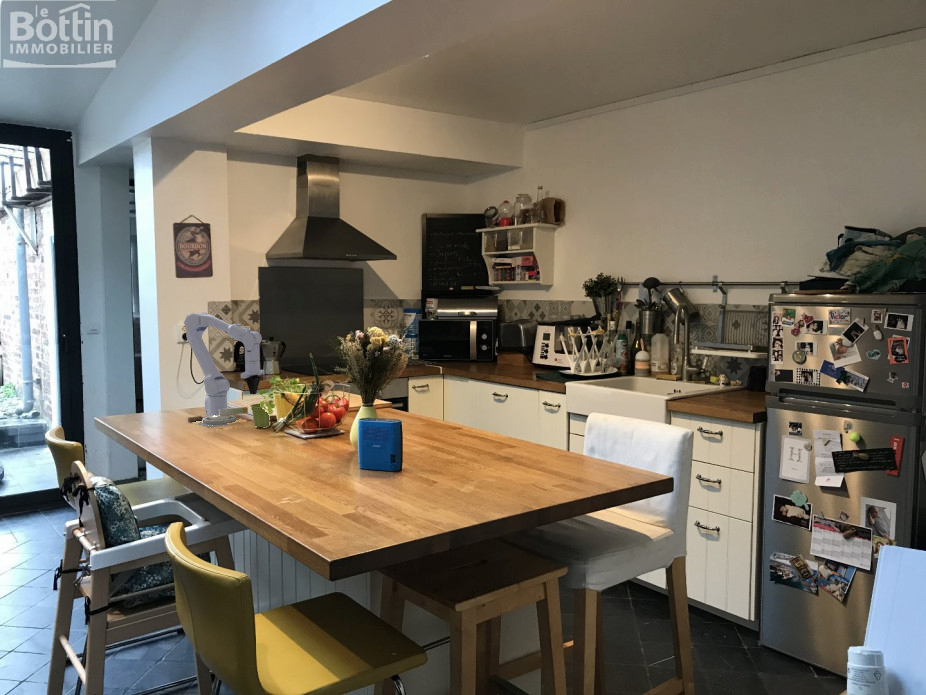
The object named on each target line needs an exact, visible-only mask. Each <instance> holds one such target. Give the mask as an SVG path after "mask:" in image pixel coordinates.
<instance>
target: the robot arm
mask: <svg viewBox="0 0 926 695" xmlns="http://www.w3.org/2000/svg"><path fill="white" fill-rule="evenodd" d="M183 324H184V326H185V334H186V341H187V342H188V343H189V346H190V348H191V350H192V353H193V354H194V357H195V359H196V361H197V362H198V365H199V366H200V369H201V370H202V373H203V375H204V378H203V383H204V390H205V392H206V394H207V396H206V397H205V399H204V413H205V415H206V414H207V415H206V416H209V415H213V414H219V409H226V408H228V392H229V390H230V387H231V385H230V382H229V380H228V379H227V378H226V377H225V375H224V374H223V373H222V372H221V371H219V370H218V368H217V366H216V364H215V362H214V360H213V358H212V356H211V354H210V352H209V350H208V347H207V346H206V343H205V342H204V340H203V338H202V337H203V334H204V332H206V330H207V328H209V327H213V328H215V329H218V330H221V331H223V332H226V333H227V335H228V337H230V338H232V339H235V341H236V340H237V341H238V342H240V343H242V344H243V346H244V362H245V364H244V365H245V366H244V367H245V371H244V372H241V373H240V379H243V380H244V382H245V383H246V385H247V387H248V391H249V394H250V395H257V392H258V388H259V385H260V383H261V380H262V379H263V377H262V376H263V375H265V369H261V361H260V360H261V359H260V357H261V356H260V351H261V350H260V344H261V342H262V339H263V337H262V334H261V333H260V332H259V331H257V330H253V331H251V328H246V327H244V326H241V325H242V324H241V323H233V324H230V323H228V322H226V321H224V320H222V319H220V318H218V317H216V316H214V315H213V314H209V313H208V312H200V313H199V312H197V313H196V312H195V313H194V312H191V313H188V314H187V315H186V317H185V319H184V321H183Z"/></svg>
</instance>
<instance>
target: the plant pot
mask: <svg viewBox="0 0 926 695" xmlns="http://www.w3.org/2000/svg"><path fill="white" fill-rule="evenodd" d="M249 406H250V408H251V409H250V410H251V411H252V416H253V417H252V418H253V423H254V427H255V426H257V427H266V426H269V415H268V413H267V412H265V411H264V410H263V409H262V408H261V407H260V403H254V404H253V403H252V404H250V405H249Z"/></svg>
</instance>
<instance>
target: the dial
mask: <svg viewBox="0 0 926 695" xmlns="http://www.w3.org/2000/svg"><path fill="white" fill-rule="evenodd" d="M248 408H249V407H248V406H239V407H229V408H228V407H227V408H226V409H219V414H213V415H208V416H209V420H226V419H230V415H231V416H235V415H243V414H248V413H249V409H248Z"/></svg>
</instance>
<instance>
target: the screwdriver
mask: <svg viewBox="0 0 926 695" xmlns="http://www.w3.org/2000/svg"><path fill="white" fill-rule="evenodd" d="M205 417H209V415H206V416H202V415H197V416H196V415H195V416H189V417H188V418H187V423H189V422H196V421H202V420H203V418H205Z"/></svg>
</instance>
